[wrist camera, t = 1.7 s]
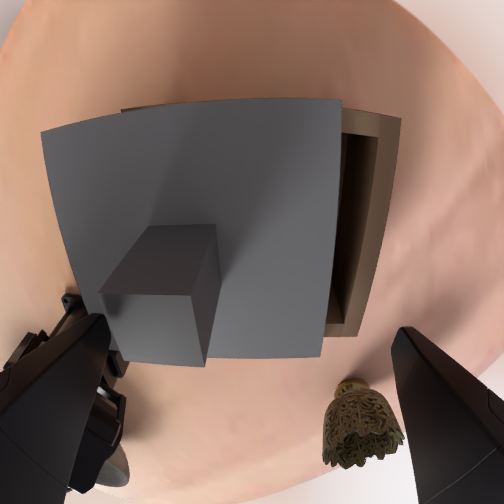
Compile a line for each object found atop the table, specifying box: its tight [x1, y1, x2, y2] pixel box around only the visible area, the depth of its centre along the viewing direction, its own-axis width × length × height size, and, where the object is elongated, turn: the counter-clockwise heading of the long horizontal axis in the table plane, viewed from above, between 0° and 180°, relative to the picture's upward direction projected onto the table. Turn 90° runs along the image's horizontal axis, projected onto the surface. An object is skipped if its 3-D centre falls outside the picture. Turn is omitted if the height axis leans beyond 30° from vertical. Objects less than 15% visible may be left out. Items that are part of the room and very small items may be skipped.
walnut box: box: [121, 102, 401, 337], centre depth 17 cm, size 12×12×6 cm
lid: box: [41, 98, 342, 367], centre depth 12 cm, size 13×13×6 cm
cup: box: [322, 379, 405, 469], centre depth 25 cm, size 8×7×8 cm
